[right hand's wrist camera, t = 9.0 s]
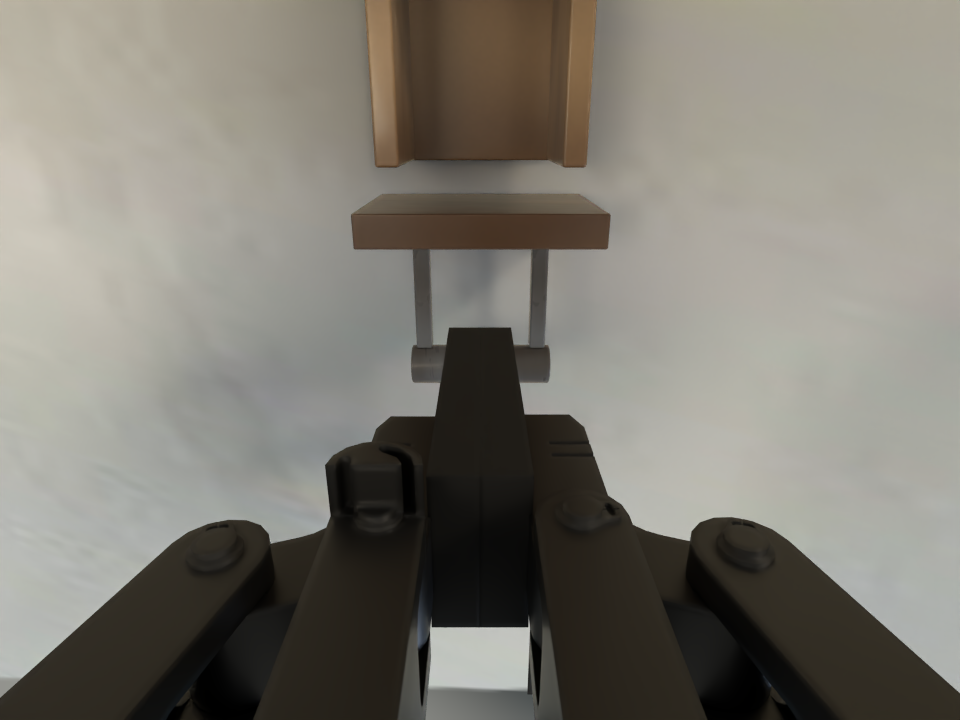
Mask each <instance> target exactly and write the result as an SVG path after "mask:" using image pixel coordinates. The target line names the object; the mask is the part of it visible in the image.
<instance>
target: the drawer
mask: <svg viewBox="0 0 960 720" xmlns="http://www.w3.org/2000/svg"><path fill="white" fill-rule="evenodd" d="M596 6H597V0H365V12H366V28H367V44H368V60H369V76H370V92H371V108H372V124H373V140H374V156H375V166H376V167H399V166H401V165H403V164H405V163H408V162H410V161H412V160H550V161H552V162H554V163H556V164H559V165H561V166H563V167H586V165H587V149H588V133H589V118H590V102H591V86H592V70H593V54H594V38H595V22H596ZM351 221H352V234H353V246H354V249H413V266H414V290H415V313H416V337H417V345H413V347H412V355H411V373H412V380H413V382H414V383H441V377H442V370H443V364H444V357H445V351H446V345H433V323H432V291H431V260H430V249H531V275H530V306H529V338H528V343H529V345H514V351H515V357H516V364H517V370H518V377H519V383H547V382H548V381H549V377H550V350H549V346H548V345H545V324H546V300H547V277H548V254H549V249H607V248H608V241H609V228H610V214H609V213H607V212H606V211H604V210H603V209H601V208H600V207H598V206H597V205H595V204H594V203H592V202H591V201H589V200H588V199H586V198H584V197H583V196H581V195H580V194H382V195H380V196H379V197H377V198H376V199H374V200H373V201H371V202H369V203H368V204H366V205H365V206H363V207H362V208H360V209H359V210H357V211H356V212H354V213H353V214H351Z"/></svg>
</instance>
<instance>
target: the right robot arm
mask: <svg viewBox="0 0 960 720" xmlns="http://www.w3.org/2000/svg"><path fill="white" fill-rule="evenodd" d="M325 469H326V478H327V487H328V495H329V504H330V513H331V517H330V520H329V522H328V525H327V528H325V529H323V530H320V531H318V532H316V533H314V534H310V535H307V536H303V537H300V538H296V539H291V540H286V541H281V542H277V543H272V544H270V539H269V534H268V533H267V532H266V531H265V530H264V528H263V527H262V526H261V525H258V524H255V523H252V522H250V521H247V520H226V521H220V522H215V523H211V524H207V525H205V526H202V527H200V528H197V529H195V530H192V531H190V532H188V533H187V534H185V535H184V536H182V537H181V538H179V539H178V540H176V541H175V542H173V543H172V544H171V545H170V546H169V547H168V548H166V549H165V550H164V551H163V552H162V553H161V554H160V555H159V556H158V557H156V558H155V559H154V560H153V561H152V562H151V563H150V564H149V565H148V566H146V567H145V568H144V569H143V570H142V571H141V572H140V573H139V574H138V575H136V576H135V577H134V578H133V579H132V580H131V581H130V582H129V583H128V584H126V585H125V586H124V587H123V588H122V589H121V590H120V591H119V592H118V593H116V594H115V595H114V596H113V597H112V598H111V599H110V600H109V601H107V602H106V603H105V604H104V605H103V606H102V607H101V608H100V609H99V610H97V611H96V612H95V613H94V614H93V615H92V616H91V617H90V618H89V619H87V620H86V621H85V622H84V623H83V624H82V625H81V626H80V627H79V628H77V629H76V630H75V631H74V632H73V633H72V634H71V635H70V636H69V637H67V638H66V639H65V640H64V641H63V642H62V643H61V644H60V645H59V646H57V647H56V648H55V649H54V650H53V651H52V652H51V653H50V654H49V655H47V656H46V657H45V658H44V659H43V660H42V661H41V662H40V663H38V664H37V665H36V666H35V667H34V668H33V669H32V670H31V671H30V672H28V673H27V674H26V675H25V676H24V677H23V678H22V679H21V680H20V681H18V682H17V683H16V684H15V685H14V686H13V687H12V688H11V689H10V690H8V691H7V692H6V693H5V694H4V695H3V696H2V697H1V698H0V720H425V717H426V705H427V695H428V684H429V672H430V661H431V647H430V624H431V619H432V627H528V619H529V621H530V647H529V671H528V694H533V705H534V716H535V720H960V693H959V692H958V691H957V690H955V689H954V688H953V687H952V686H951V685H950V684H949V683H948V682H946V681H945V680H944V679H943V678H942V677H941V676H940V675H939V674H938V673H936V672H935V671H934V670H933V669H932V668H931V667H930V666H929V665H927V664H926V663H925V662H924V661H923V660H922V659H921V658H920V657H918V656H917V655H916V654H915V653H914V652H913V651H912V650H911V649H909V648H908V647H907V646H906V645H905V644H904V643H903V642H902V641H901V640H899V639H898V638H897V637H896V636H895V635H894V634H893V633H892V632H890V631H889V630H888V629H887V628H886V627H885V626H884V625H883V624H881V623H880V622H879V621H878V620H877V619H876V618H875V617H874V616H872V615H871V614H870V613H869V612H868V611H867V610H866V609H865V608H863V607H862V606H861V605H860V604H859V603H858V602H857V601H856V600H855V599H853V598H852V597H851V596H850V595H849V594H848V593H847V592H846V591H844V590H843V589H842V588H841V587H840V586H839V585H838V584H837V583H835V582H834V581H833V580H832V579H831V578H830V577H829V576H828V575H826V574H825V573H824V572H823V571H822V570H821V569H820V568H819V567H817V566H816V565H815V564H814V563H813V562H812V561H811V560H810V559H809V558H807V557H806V556H805V555H804V554H803V553H802V552H801V551H800V550H798V549H797V548H796V547H795V546H794V545H793V544H792V543H791V542H789V541H788V540H787V539H785V538H784V537H782V536H781V535H779V534H778V533H777V532H775V531H774V530H772V529H770V528H767V527H765V526H763V525H760V524H758V523H755V522H753V521H748V520H744V519H738V518H733V517H726V518H712V519H709V520H706V521H703V522H700V523H699V524H698V525H697V526H696V527H695V528H694V529H693V531H692V532H691V539H690V541H686V540H681V539H676V538H672V537H667V536H662V535H658V534H655V533H651V532H648V531H645V530H643V529H641V528H639V527H636V526H634V525H633V524H632V521H631V519H630V516H629V514H628V513H627V512H626V510H625V509H624V507H623V506H622V505H621V504H620V503H618V502H617V501H615V500H614V499H612V498H611V497H609V496H608V494H607V491H606V489H605V486H604V483H603V480H602V477H601V474H600V471H599V469H598V466H597V463H596V460H595V457H593V451H592V449H591V446H590V444H589V440H588V437H587V434H586V431H585V429H584V427H583V426H582V425H581V424H580V423H579V422H577V421H576V420H575V419H574V418H573V417H571V416H570V415H524V409H523V402H522V396H521V389H520V383H519V377H518V370H517V364H516V357H515V351H514V345H513V338H512V332H511V328H449V332H448V338H447V345H446V351H445V357H444V364H443V370H442V377H441V383H440V389H439V396H438V402H437V409H436V415H435V417H390V418H389V419H387V420H386V421H385V422H384V423H383V424H382V425H380V426H379V427H378V428H377V429H376V431H375V434H374V437H373V440H372V442H366V443H361V444H358V445H354V446H351V447H347V448H345V449H344V450H342V451H340V452H338V453H337V454H335V455H333V456H332V458H331V459H330V460H329V461H328V462H327V464H326V465H325Z"/></svg>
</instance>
